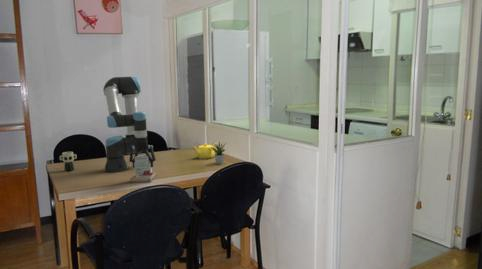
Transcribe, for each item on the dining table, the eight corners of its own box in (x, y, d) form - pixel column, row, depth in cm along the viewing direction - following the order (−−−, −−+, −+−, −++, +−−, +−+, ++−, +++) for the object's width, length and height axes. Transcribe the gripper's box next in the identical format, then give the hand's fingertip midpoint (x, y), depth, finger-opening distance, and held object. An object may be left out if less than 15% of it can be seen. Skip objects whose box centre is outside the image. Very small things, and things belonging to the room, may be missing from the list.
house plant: (224, 159, 290) (223, 138, 288) (234, 162, 279) (233, 140, 277) (207, 162, 283) (206, 140, 280) (217, 165, 271) (216, 143, 269)
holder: (129, 182, 234) (129, 178, 234) (137, 176, 249) (137, 172, 248) (150, 182, 233) (150, 178, 233) (157, 175, 248) (157, 172, 248)
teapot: (199, 161, 288) (198, 147, 286) (189, 158, 300) (188, 144, 299) (223, 157, 300) (223, 143, 299) (213, 154, 313) (213, 141, 311)
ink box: (151, 172, 243) (149, 154, 241) (149, 174, 238) (148, 156, 236) (137, 173, 243) (136, 155, 241) (135, 175, 238) (134, 156, 236)
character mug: (60, 172, 266) (58, 154, 264) (61, 170, 272) (59, 152, 270) (77, 170, 270) (76, 152, 268) (77, 168, 276) (76, 150, 274)
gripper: (121, 138, 234) (124, 174, 237) (156, 137, 233) (158, 173, 236) (126, 136, 241) (128, 171, 245) (159, 135, 240) (161, 170, 243)
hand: (143, 172), depth 240 cm, fingers closed on ink box, 9 cm apart
